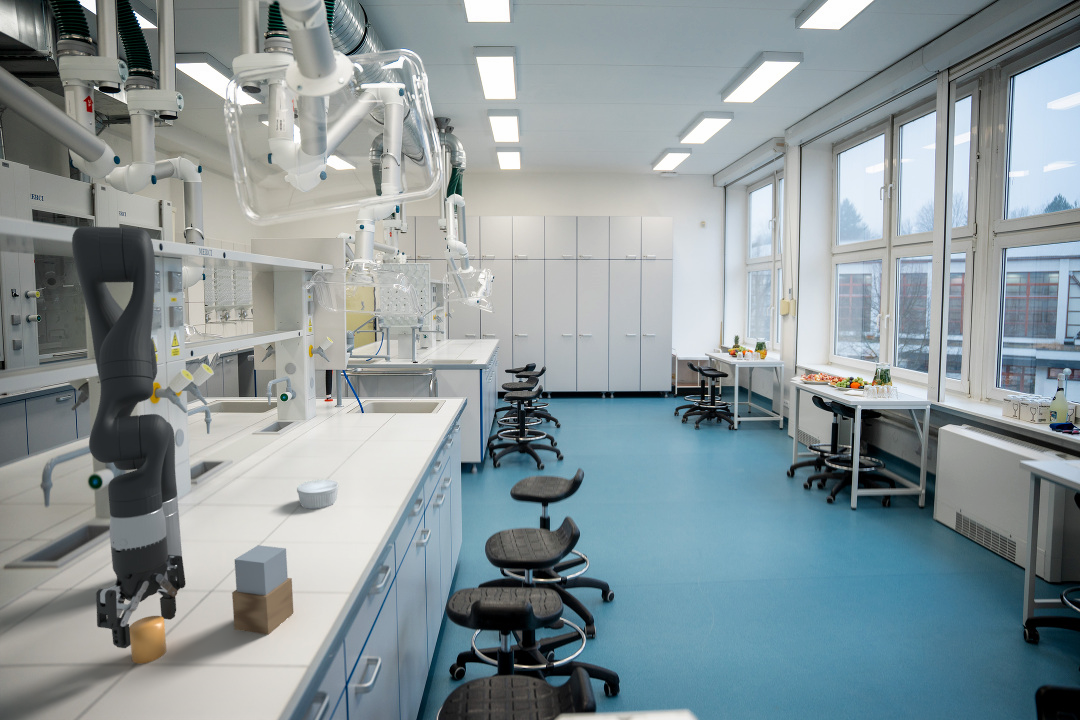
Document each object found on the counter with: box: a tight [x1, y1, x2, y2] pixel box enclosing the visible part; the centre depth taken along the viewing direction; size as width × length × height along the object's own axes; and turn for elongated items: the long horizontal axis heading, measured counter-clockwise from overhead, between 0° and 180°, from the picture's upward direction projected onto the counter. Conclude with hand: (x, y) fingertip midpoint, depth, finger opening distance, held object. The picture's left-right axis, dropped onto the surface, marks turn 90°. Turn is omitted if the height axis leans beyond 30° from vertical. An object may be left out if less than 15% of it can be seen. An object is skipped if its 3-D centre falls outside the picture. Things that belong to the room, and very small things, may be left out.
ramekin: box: [296, 478, 340, 510], centre depth 168 cm, size 11×11×5 cm
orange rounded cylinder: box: [129, 615, 167, 665], centre depth 98 cm, size 5×5×6 cm
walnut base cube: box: [231, 577, 294, 636], centre depth 108 cm, size 7×7×7 cm
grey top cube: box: [234, 544, 289, 595], centre depth 107 cm, size 6×6×6 cm
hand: (146, 631), depth 98 cm, fingers open, 8 cm apart
